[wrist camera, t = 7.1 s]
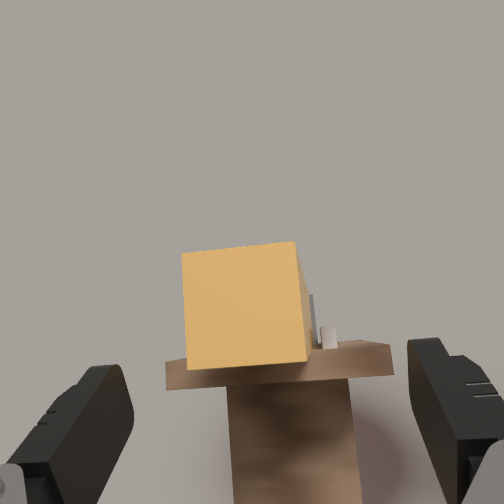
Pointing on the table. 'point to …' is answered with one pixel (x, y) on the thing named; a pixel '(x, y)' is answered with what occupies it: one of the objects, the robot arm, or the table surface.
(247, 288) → the tan rectangular block
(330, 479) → the stand
